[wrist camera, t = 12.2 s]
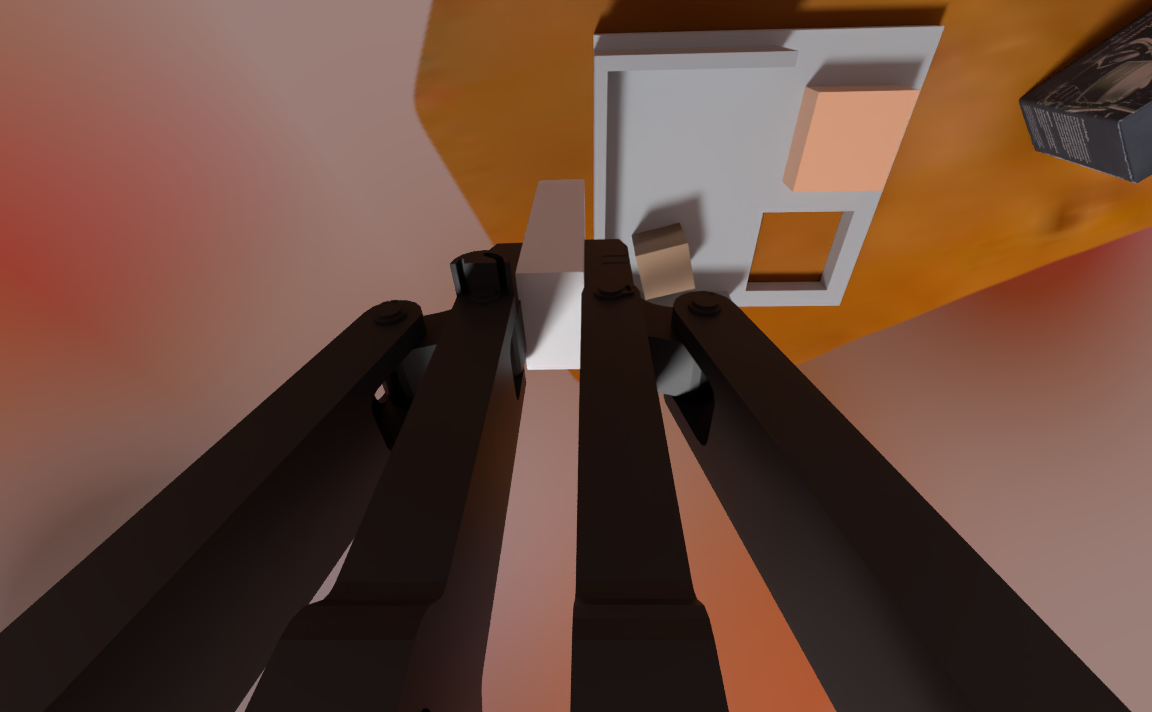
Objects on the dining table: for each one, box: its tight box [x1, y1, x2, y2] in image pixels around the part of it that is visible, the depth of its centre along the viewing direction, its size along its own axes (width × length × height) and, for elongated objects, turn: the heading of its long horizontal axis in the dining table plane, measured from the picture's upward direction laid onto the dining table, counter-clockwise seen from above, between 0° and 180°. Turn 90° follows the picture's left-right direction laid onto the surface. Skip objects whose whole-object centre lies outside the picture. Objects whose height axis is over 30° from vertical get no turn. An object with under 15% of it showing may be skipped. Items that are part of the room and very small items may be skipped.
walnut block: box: [632, 223, 695, 300], centre depth 47 cm, size 5×5×5 cm
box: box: [1019, 9, 1152, 183], centre depth 37 cm, size 11×7×10 cm, turn 134°
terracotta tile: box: [782, 85, 920, 192], centre depth 41 cm, size 8×8×3 cm
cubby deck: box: [593, 25, 945, 307], centre depth 44 cm, size 26×28×7 cm
